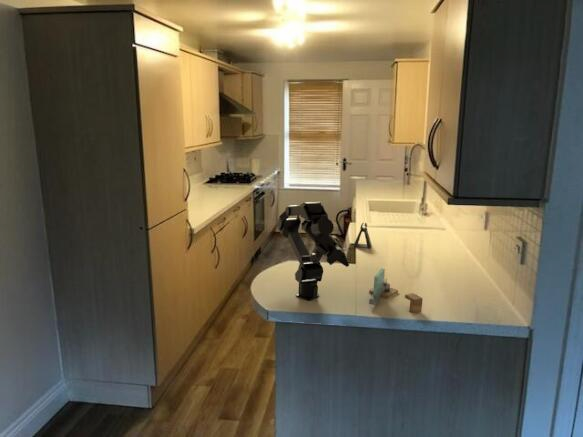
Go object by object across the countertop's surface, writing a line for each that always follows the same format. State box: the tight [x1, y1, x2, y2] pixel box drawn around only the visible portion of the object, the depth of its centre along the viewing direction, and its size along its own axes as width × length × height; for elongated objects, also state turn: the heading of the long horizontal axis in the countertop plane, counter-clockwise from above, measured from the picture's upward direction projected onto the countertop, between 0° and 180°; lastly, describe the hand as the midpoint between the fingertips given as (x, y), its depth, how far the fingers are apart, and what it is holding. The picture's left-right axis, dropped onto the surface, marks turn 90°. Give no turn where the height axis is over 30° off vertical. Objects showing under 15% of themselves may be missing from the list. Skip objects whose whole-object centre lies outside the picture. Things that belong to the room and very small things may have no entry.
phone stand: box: [353, 222, 372, 249], centre depth 236 cm, size 9×6×12 cm, turn 77°
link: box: [368, 268, 391, 306], centre depth 167 cm, size 19×4×10 cm, turn 155°
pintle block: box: [368, 287, 399, 300], centre depth 174 cm, size 8×8×1 cm
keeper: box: [404, 292, 424, 315], centre depth 159 cm, size 5×4×5 cm
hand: (348, 265), depth 164 cm, fingers closed
